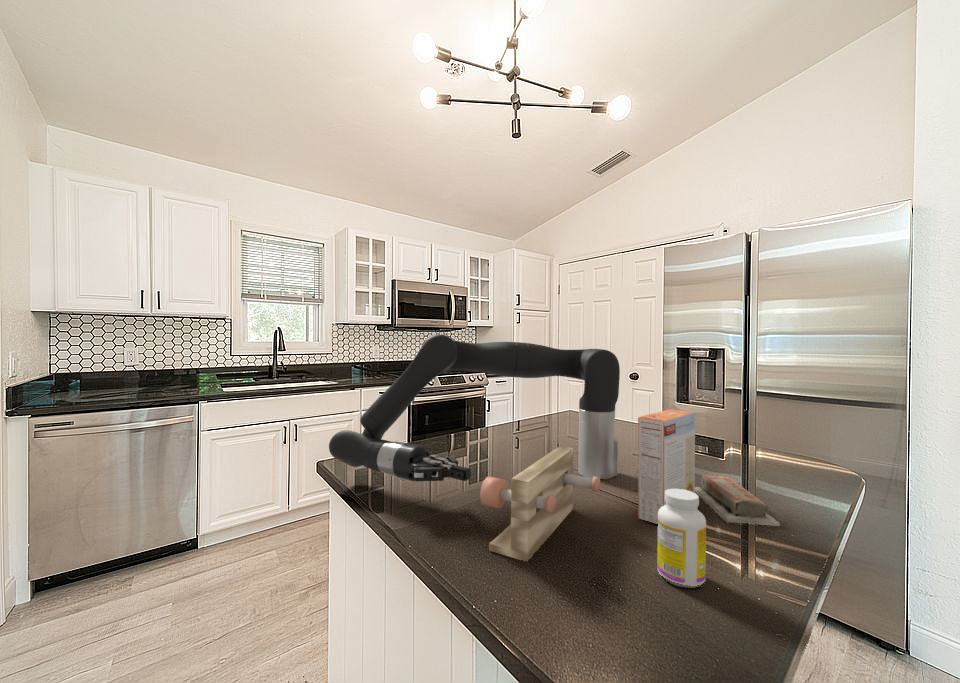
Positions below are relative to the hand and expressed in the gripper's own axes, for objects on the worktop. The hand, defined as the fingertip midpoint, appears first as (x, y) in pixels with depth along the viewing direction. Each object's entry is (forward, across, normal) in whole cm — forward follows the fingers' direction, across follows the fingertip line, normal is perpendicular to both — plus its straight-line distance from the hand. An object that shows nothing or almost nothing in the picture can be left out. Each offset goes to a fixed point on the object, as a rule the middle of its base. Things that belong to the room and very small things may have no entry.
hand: (468, 474), depth 84 cm
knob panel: (+14, +2, +8) cm, 16 cm away
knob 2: (+17, +9, +3) cm, 20 cm away
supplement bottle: (+39, -1, +8) cm, 40 cm away
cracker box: (+34, +22, +8) cm, 42 cm away
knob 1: (+13, -5, +3) cm, 14 cm away
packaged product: (+46, +34, +8) cm, 58 cm away
